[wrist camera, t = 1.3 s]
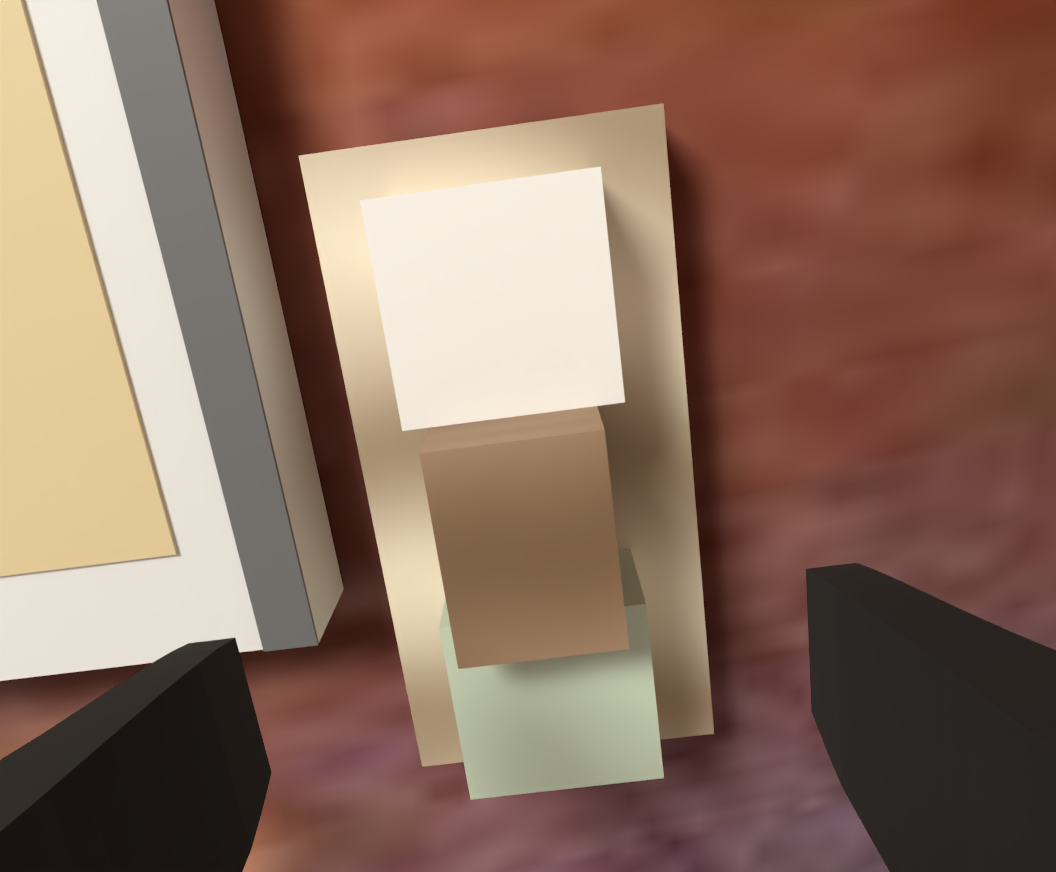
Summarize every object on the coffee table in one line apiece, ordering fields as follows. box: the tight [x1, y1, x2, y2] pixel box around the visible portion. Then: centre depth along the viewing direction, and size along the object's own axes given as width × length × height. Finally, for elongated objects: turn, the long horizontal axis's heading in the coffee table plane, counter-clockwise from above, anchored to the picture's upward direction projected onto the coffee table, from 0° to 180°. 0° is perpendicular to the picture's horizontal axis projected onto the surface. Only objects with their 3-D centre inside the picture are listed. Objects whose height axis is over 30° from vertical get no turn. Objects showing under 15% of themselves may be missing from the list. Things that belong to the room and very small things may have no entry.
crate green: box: [439, 549, 664, 799], centre depth 17 cm, size 4×4×2 cm
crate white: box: [360, 166, 625, 431], centre depth 15 cm, size 4×4×2 cm
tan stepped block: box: [299, 104, 714, 767], centre depth 17 cm, size 14×7×6 cm, turn 8°
